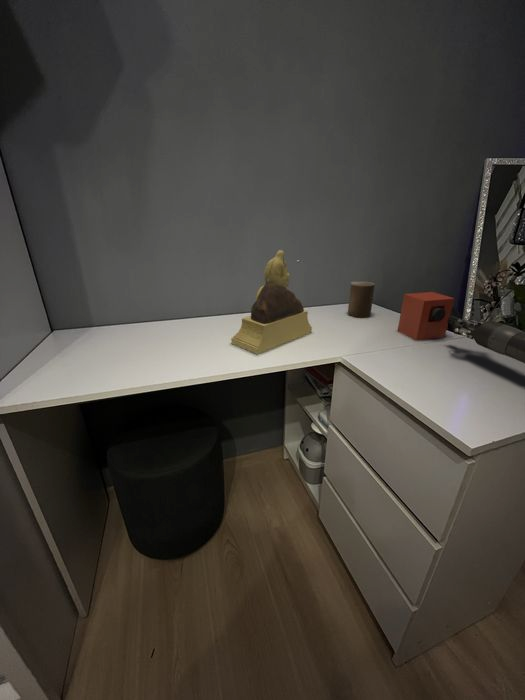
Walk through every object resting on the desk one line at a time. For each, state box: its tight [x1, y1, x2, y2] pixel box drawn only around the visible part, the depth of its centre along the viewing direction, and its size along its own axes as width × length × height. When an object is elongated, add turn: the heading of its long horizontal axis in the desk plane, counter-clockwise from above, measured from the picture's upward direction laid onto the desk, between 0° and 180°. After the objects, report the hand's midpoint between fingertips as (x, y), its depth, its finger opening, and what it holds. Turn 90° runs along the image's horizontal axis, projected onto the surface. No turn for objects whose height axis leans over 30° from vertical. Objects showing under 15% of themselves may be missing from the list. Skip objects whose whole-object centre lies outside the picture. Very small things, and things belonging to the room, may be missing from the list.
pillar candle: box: [347, 280, 376, 319], centre depth 128 cm, size 10×10×15 cm
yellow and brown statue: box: [230, 249, 313, 355], centre depth 101 cm, size 28×13×30 cm, turn 134°
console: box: [397, 291, 455, 341], centre depth 107 cm, size 10×12×14 cm
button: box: [430, 308, 445, 322], centre depth 101 cm, size 2×4×4 cm, turn 104°
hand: (449, 319), depth 96 cm, fingers closed
